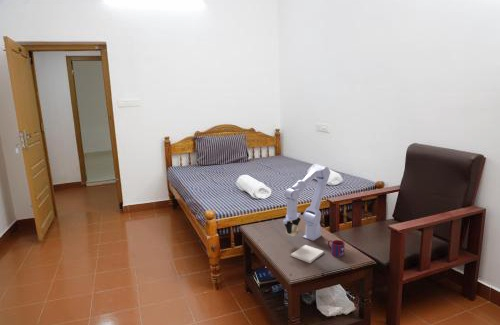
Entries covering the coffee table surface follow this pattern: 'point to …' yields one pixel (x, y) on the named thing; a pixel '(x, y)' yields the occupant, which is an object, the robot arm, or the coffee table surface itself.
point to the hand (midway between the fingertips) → (292, 231)
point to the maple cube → (293, 231)
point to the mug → (337, 248)
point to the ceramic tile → (307, 253)
